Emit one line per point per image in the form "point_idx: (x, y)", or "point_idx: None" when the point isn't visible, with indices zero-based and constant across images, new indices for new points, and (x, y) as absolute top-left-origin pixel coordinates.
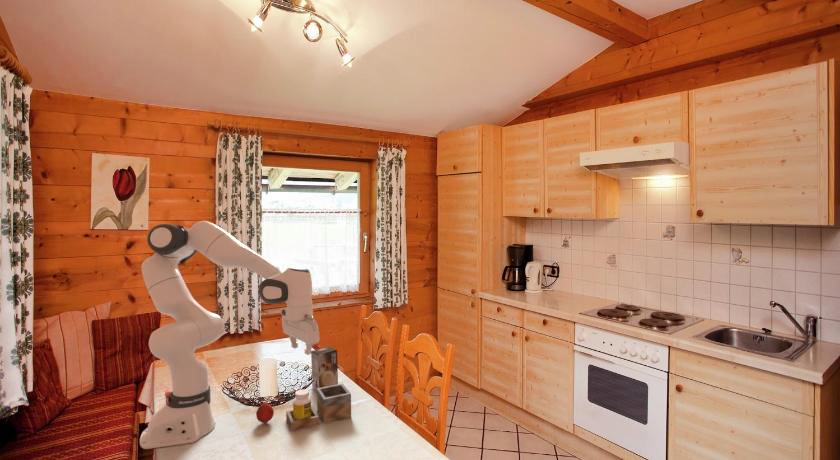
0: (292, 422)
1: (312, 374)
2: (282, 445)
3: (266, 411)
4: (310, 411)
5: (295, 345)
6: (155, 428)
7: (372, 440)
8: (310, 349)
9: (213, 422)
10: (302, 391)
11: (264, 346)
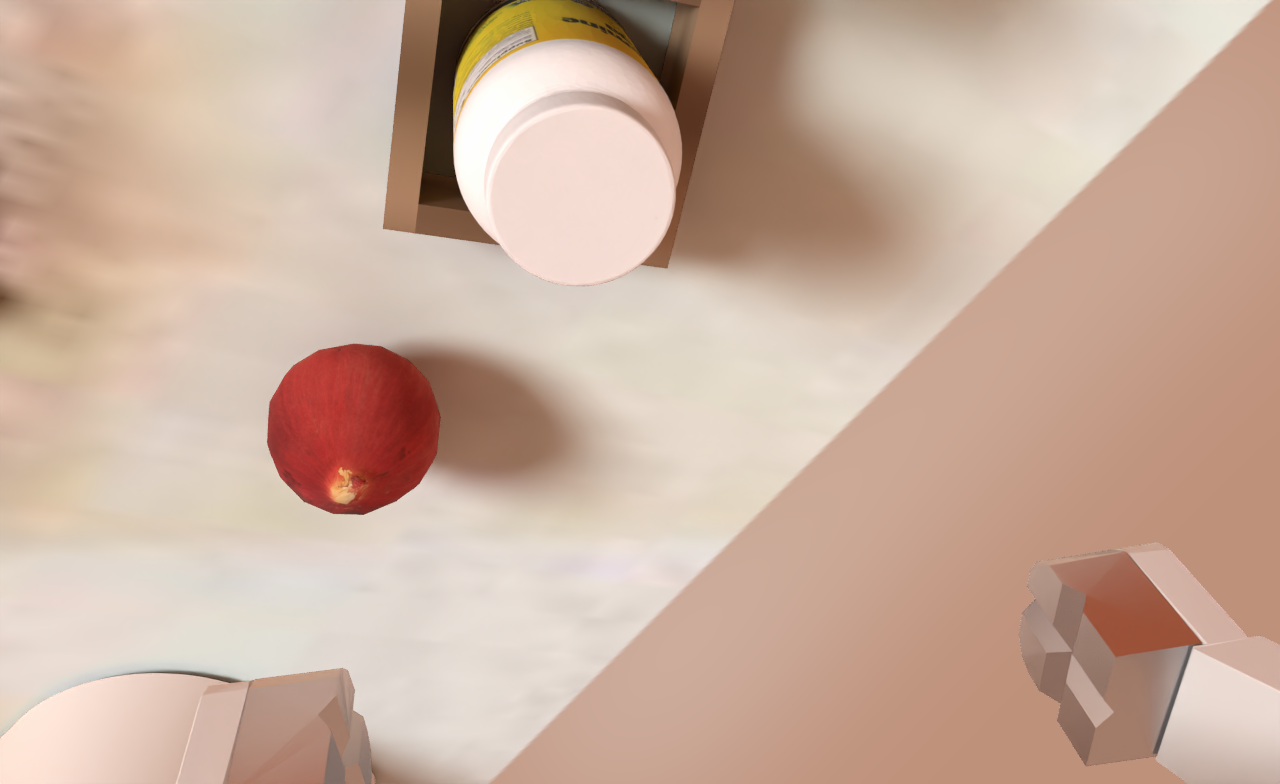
0: (666, 258)
1: None
2: (802, 358)
3: (425, 458)
4: (632, 45)
5: (339, 776)
6: None
7: None
8: (1230, 644)
9: (195, 707)
10: (565, 186)
11: None
